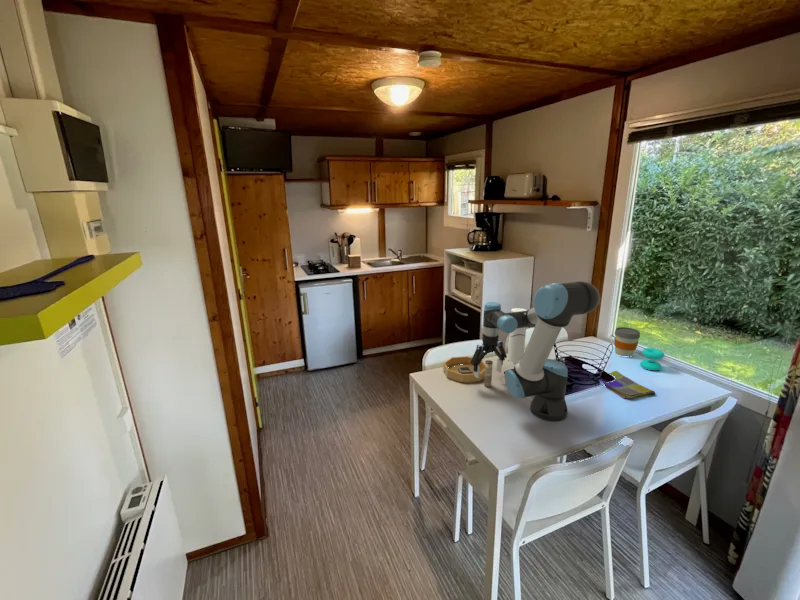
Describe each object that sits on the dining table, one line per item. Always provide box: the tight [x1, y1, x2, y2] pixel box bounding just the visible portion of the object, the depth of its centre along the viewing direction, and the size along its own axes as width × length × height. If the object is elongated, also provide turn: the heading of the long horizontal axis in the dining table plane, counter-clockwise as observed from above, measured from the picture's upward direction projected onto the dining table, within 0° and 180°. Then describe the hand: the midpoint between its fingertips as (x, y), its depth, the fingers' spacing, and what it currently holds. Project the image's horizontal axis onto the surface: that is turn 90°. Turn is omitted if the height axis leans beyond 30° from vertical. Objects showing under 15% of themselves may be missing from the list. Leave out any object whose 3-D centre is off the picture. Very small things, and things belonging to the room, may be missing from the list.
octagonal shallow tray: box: [442, 355, 485, 384], centre depth 199 cm, size 22×22×5 cm
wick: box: [483, 359, 493, 388], centre depth 184 cm, size 3×3×13 cm
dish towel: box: [603, 370, 656, 400], centre depth 184 cm, size 18×24×3 cm
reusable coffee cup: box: [613, 326, 641, 356], centre depth 218 cm, size 13×13×15 cm
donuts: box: [639, 347, 665, 371], centre depth 202 cm, size 10×10×10 cm
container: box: [507, 307, 527, 364], centre depth 210 cm, size 9×9×30 cm
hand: (487, 374), depth 185 cm, fingers open, 13 cm apart
